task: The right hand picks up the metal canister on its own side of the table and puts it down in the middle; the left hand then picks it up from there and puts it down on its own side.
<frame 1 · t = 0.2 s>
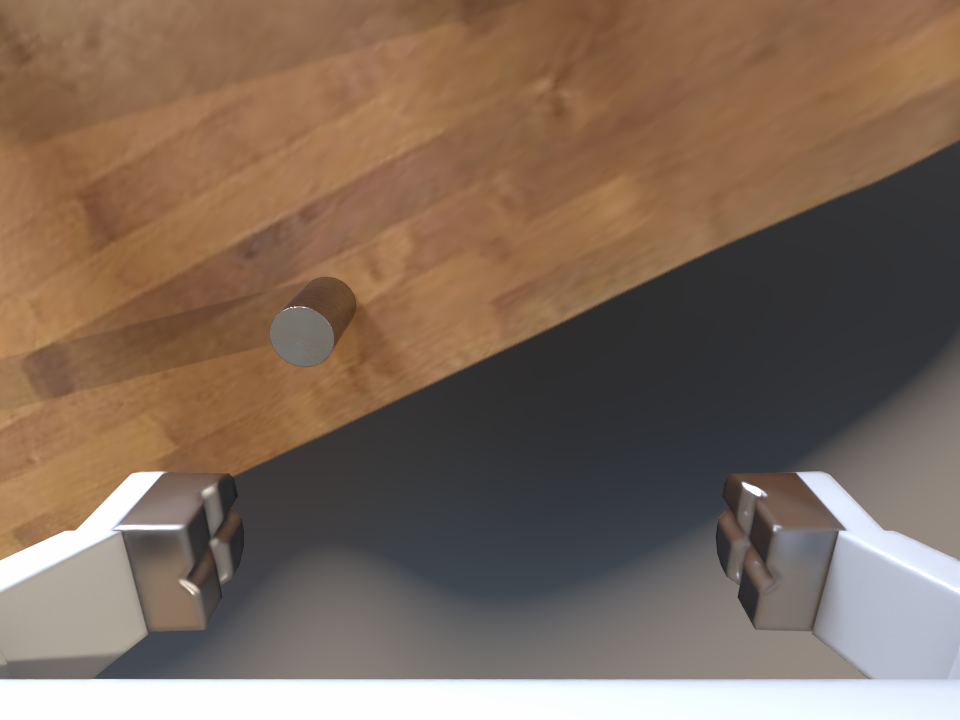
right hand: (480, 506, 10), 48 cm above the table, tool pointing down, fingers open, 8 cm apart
canister: (328, 303, 58), on the table
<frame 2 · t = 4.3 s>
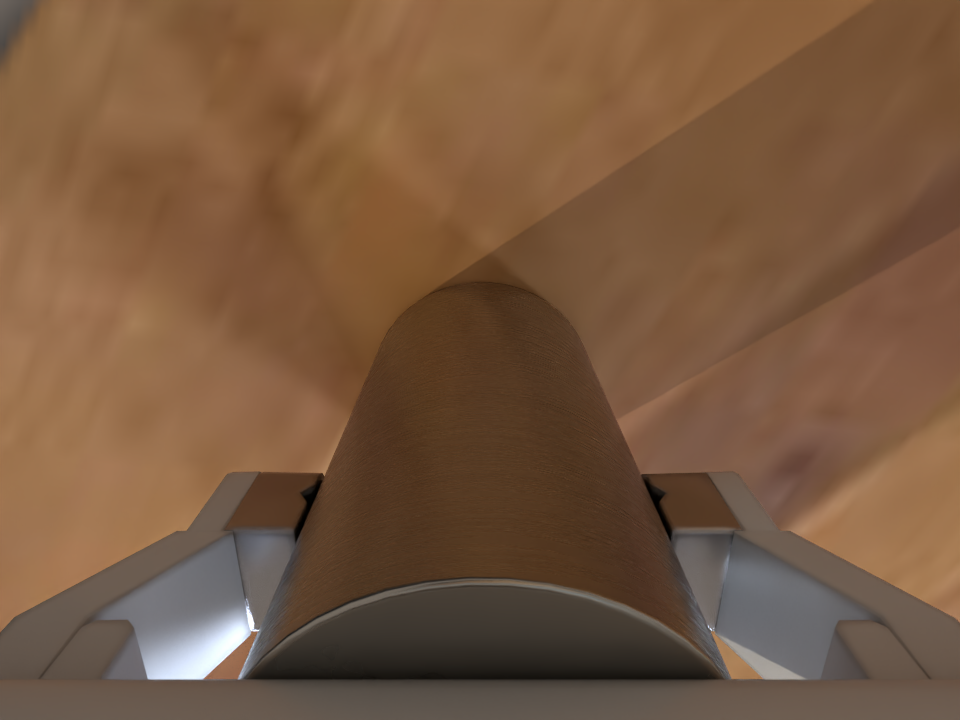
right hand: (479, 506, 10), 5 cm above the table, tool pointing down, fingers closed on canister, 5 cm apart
canister: (481, 386, 15), on the table, touching right hand
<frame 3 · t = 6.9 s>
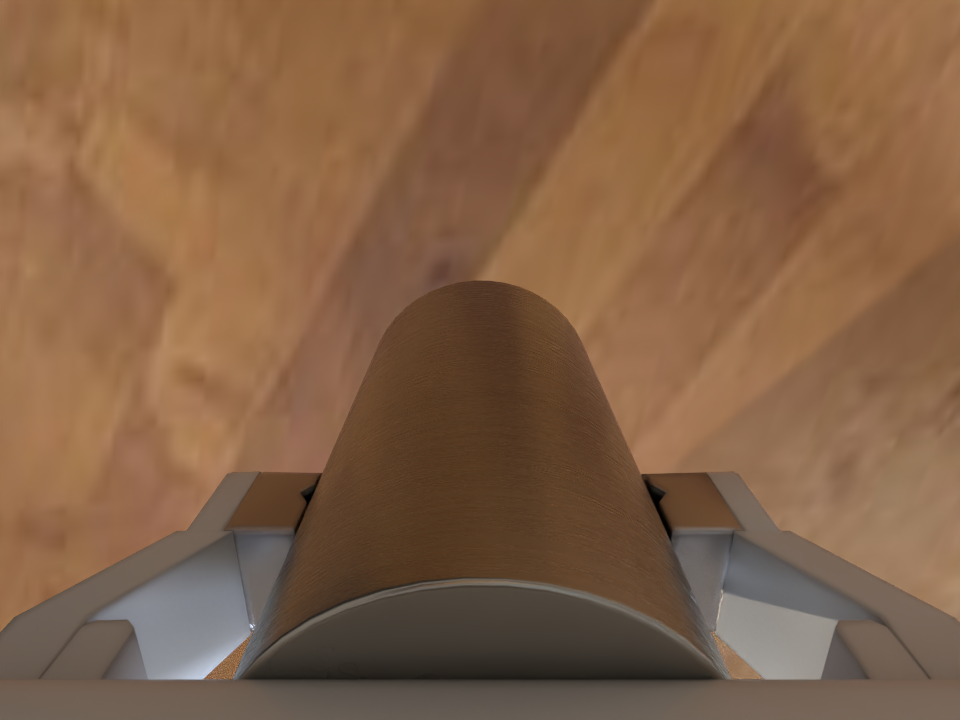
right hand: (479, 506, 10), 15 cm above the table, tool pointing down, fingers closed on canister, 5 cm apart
canister: (480, 385, 15), point 11 cm above the table, touching right hand
when the right hand's fingers open (6 cm above the table, at t = 9.8 s): canister drops 1 cm, on the table.
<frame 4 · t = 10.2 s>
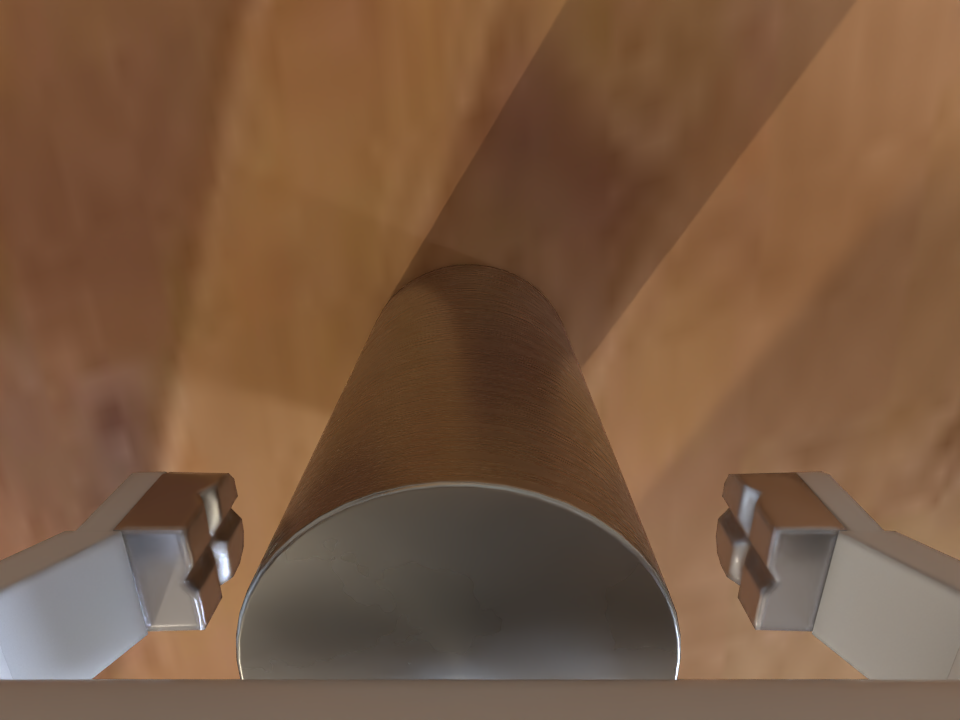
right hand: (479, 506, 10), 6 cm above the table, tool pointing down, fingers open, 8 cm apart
canister: (469, 362, 16), on the table
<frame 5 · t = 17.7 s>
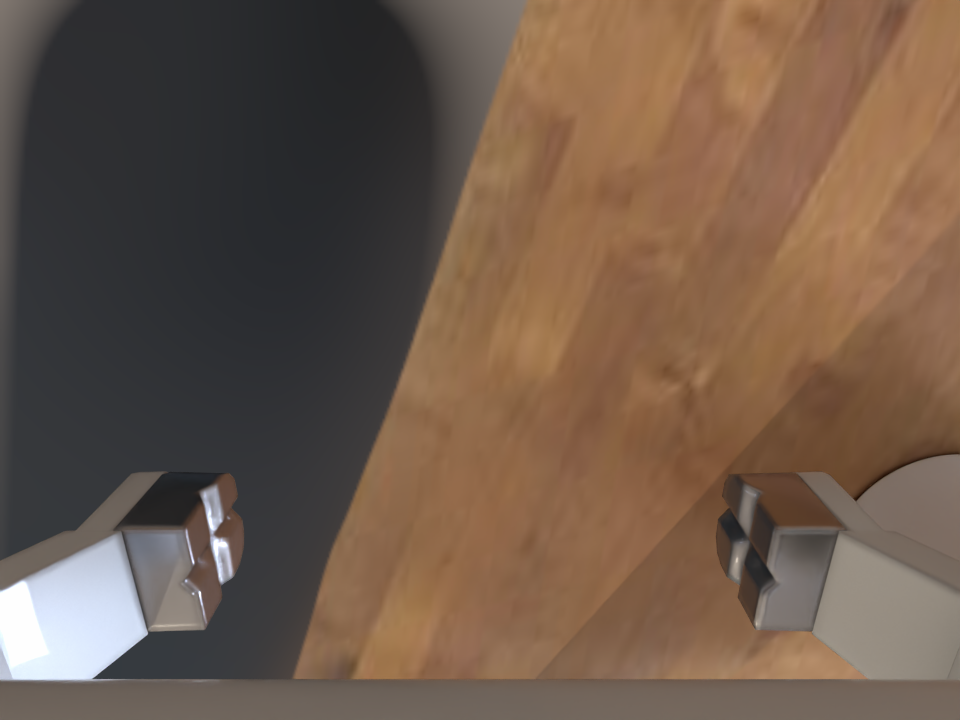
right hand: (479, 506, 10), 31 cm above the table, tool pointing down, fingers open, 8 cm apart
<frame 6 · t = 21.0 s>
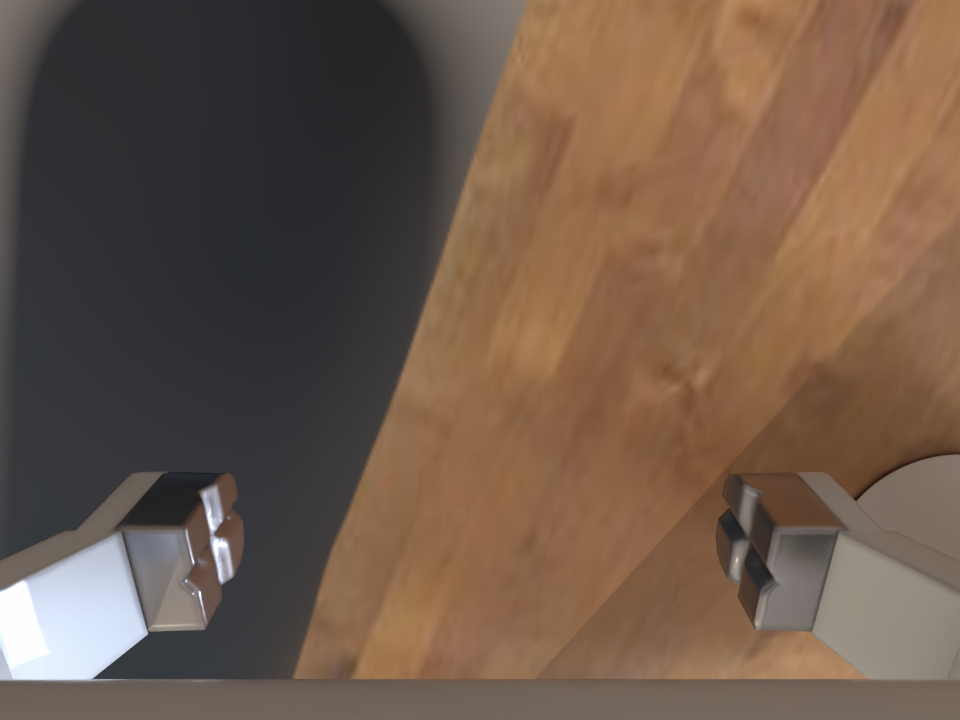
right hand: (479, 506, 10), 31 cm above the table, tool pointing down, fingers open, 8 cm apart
when the left hand's fingers open (5 cm above the table, at t = 24.2 s): canister stays where it is, on the table.
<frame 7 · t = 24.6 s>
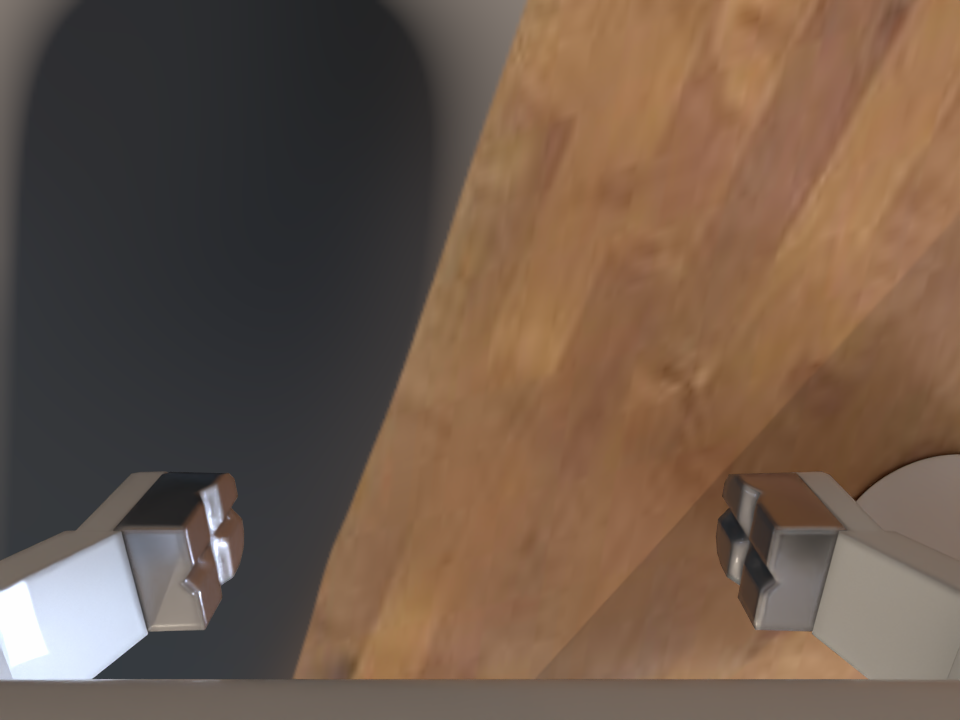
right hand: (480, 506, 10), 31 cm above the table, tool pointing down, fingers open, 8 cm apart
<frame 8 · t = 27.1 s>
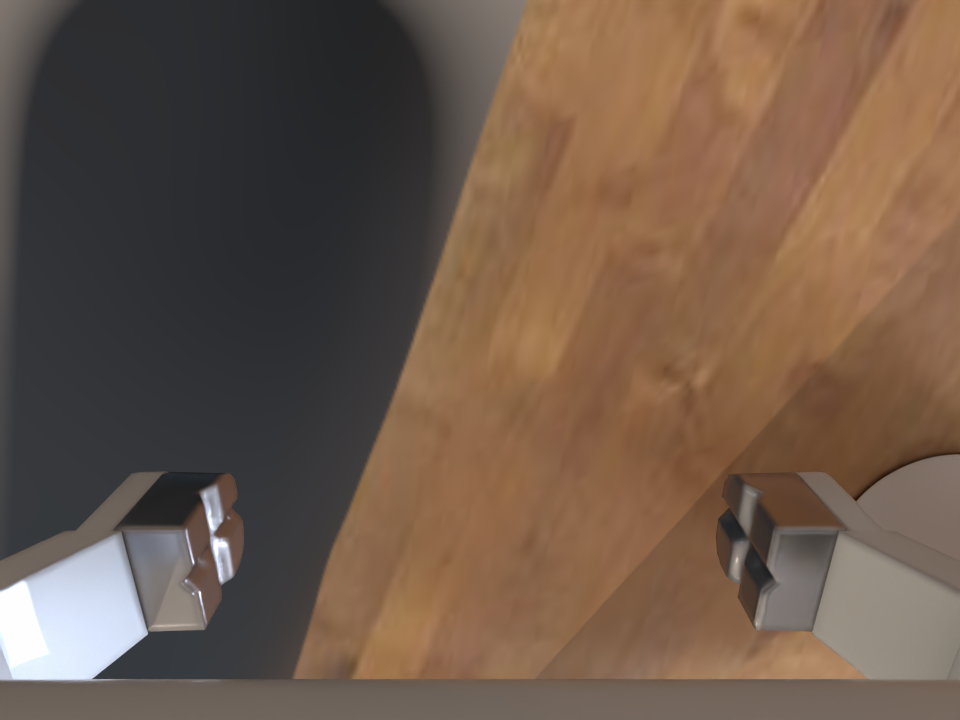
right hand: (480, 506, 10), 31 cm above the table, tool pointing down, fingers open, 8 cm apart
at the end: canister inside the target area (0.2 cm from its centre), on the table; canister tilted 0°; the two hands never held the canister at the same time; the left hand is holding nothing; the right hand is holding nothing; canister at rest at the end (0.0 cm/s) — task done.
